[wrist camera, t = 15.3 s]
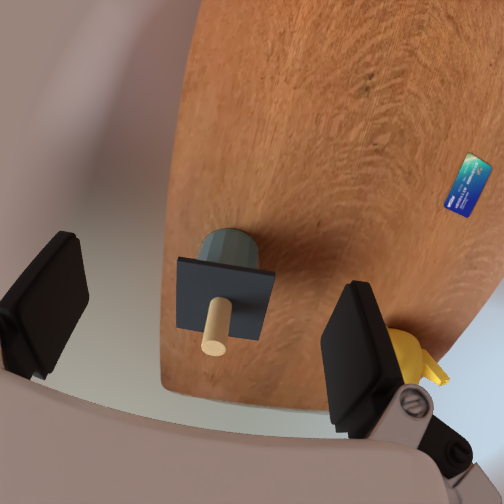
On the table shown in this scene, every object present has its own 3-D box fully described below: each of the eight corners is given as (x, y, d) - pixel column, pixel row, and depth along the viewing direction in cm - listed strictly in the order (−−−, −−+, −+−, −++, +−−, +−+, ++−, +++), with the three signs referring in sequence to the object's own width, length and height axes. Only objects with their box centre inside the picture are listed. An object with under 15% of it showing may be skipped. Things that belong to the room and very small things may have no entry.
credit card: (467, 218, 37) (467, 218, 37) (442, 206, 36) (443, 206, 36) (492, 167, 32) (492, 167, 32) (468, 152, 32) (468, 152, 32)
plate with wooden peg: (177, 323, 37) (164, 368, 31) (178, 256, 32) (160, 302, 26) (258, 335, 38) (256, 382, 32) (275, 271, 32) (276, 320, 26)
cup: (198, 273, 44) (185, 318, 37) (202, 223, 40) (187, 265, 32) (254, 282, 45) (251, 329, 37) (264, 233, 40) (263, 277, 33)
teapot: (333, 384, 59) (340, 438, 48) (330, 322, 49) (341, 389, 38) (424, 364, 55) (441, 414, 45) (442, 299, 46) (471, 356, 35)
